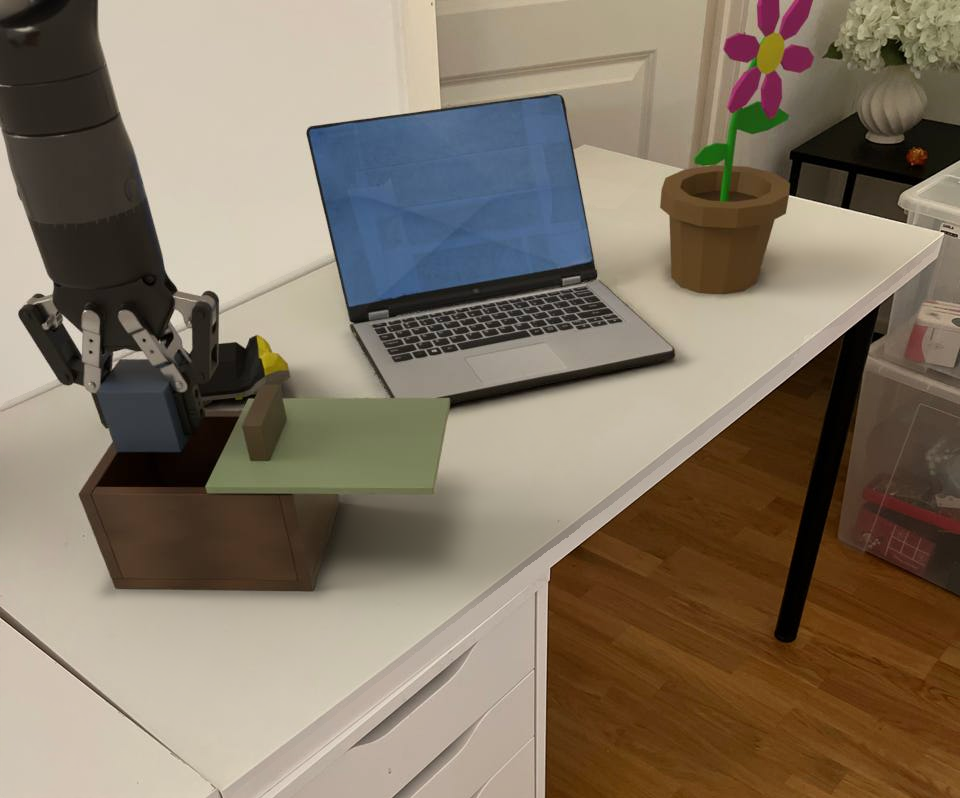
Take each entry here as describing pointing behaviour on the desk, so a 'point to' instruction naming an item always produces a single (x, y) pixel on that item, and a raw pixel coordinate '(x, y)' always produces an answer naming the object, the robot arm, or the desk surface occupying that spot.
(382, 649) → the desk surface
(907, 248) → the desk surface
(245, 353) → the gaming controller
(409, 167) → the laptop
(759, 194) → the flowerpot
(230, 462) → the cover
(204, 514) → the storage box
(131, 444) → the block
